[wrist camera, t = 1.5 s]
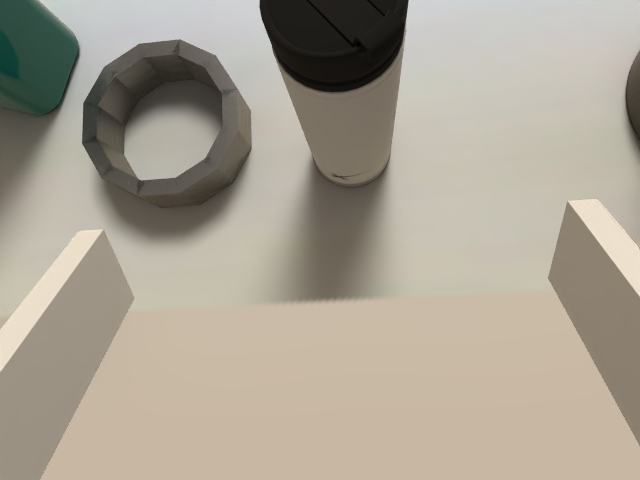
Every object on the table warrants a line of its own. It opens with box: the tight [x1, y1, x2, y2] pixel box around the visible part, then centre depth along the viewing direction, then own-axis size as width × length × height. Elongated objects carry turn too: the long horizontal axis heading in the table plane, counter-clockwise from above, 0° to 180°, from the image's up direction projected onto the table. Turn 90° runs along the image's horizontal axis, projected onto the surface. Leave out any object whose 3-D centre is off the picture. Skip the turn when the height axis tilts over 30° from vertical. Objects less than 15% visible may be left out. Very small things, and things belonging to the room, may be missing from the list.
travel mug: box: [260, 0, 408, 187], centre depth 28 cm, size 6×7×20 cm
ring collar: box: [82, 40, 251, 208], centre depth 38 cm, size 12×12×4 cm
